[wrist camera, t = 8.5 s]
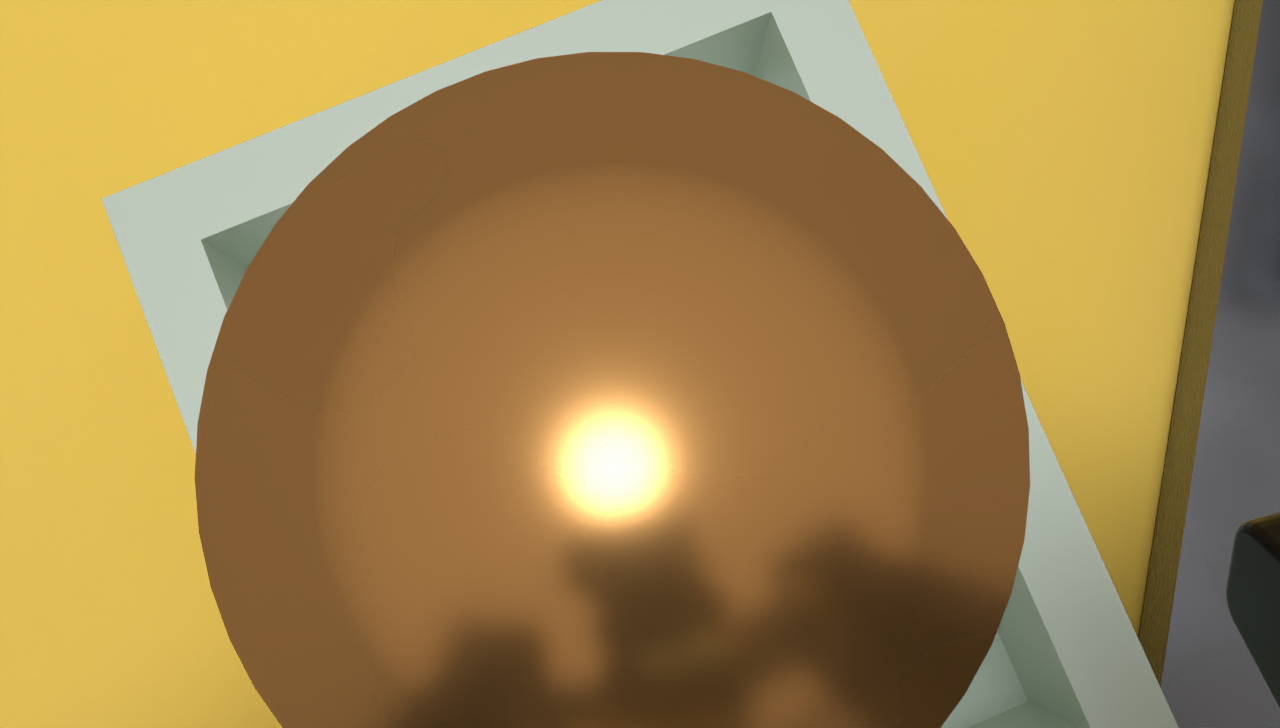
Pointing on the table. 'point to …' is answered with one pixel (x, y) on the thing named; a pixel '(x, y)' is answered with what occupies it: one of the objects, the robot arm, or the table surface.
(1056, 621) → the tray
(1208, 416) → the grey slab
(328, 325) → the pin
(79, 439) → the table surface
